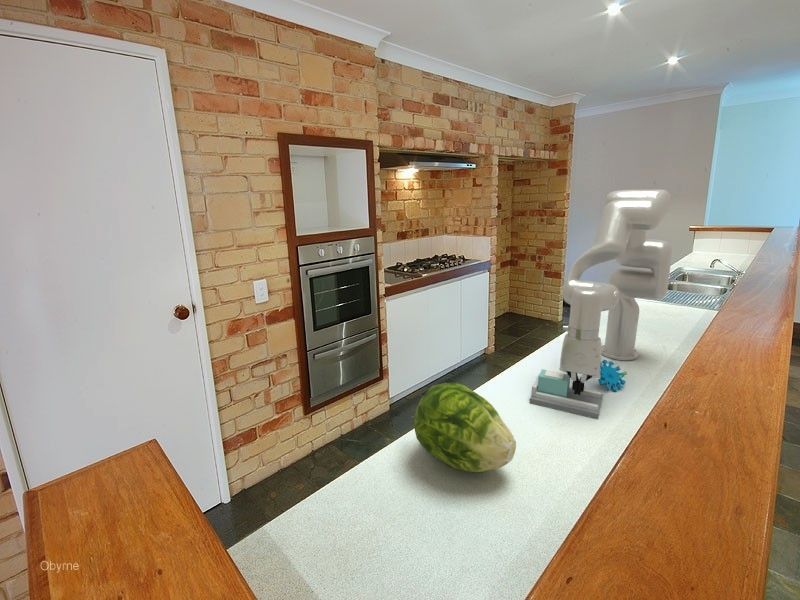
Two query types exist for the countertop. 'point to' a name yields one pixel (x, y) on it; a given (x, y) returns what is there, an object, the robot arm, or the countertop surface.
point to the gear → (611, 376)
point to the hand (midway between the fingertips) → (577, 392)
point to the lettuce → (462, 429)
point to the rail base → (570, 401)
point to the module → (553, 383)
